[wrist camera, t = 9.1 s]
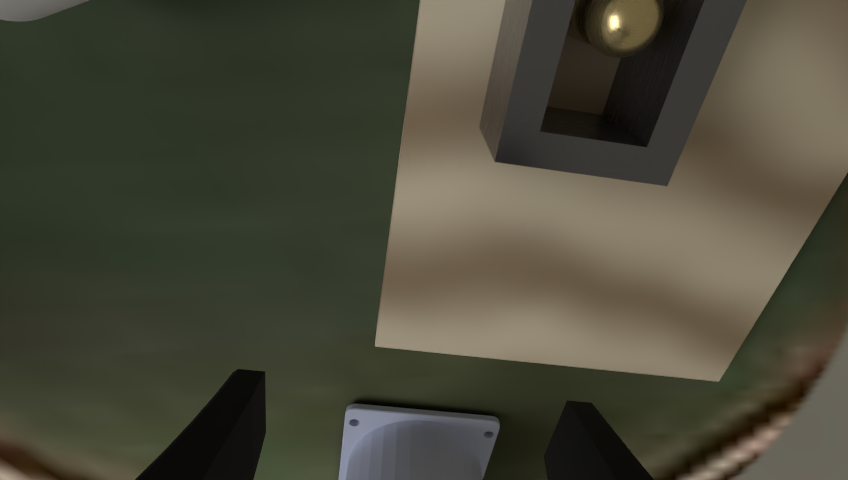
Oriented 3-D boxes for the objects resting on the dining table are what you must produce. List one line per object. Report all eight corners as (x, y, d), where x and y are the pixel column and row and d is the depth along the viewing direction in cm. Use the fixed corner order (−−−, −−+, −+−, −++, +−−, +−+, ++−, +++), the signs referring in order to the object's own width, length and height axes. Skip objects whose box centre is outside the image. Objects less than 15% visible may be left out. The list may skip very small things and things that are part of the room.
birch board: (701, 358, 23) (718, 381, 22) (376, 324, 22) (374, 346, 21) (996, -155, 14) (1057, -169, 13) (456, -276, 12) (461, -306, 11)
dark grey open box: (620, 147, 16) (666, 186, 13) (479, 126, 16) (494, 161, 13) (723, -141, 13) (823, -179, 10) (542, -179, 12) (586, -231, 9)
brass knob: (604, 48, 15) (659, 68, 12) (549, 38, 15) (588, 56, 11) (624, -17, 14) (691, -15, 11) (566, -28, 14) (614, -29, 11)
